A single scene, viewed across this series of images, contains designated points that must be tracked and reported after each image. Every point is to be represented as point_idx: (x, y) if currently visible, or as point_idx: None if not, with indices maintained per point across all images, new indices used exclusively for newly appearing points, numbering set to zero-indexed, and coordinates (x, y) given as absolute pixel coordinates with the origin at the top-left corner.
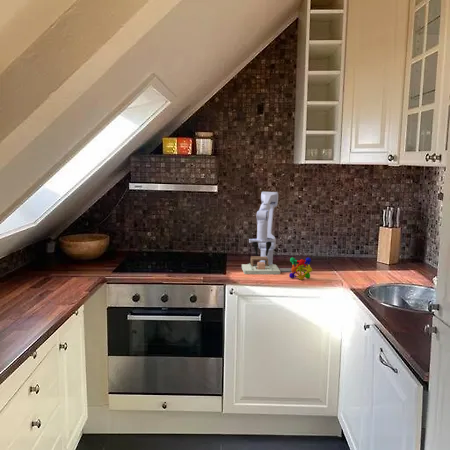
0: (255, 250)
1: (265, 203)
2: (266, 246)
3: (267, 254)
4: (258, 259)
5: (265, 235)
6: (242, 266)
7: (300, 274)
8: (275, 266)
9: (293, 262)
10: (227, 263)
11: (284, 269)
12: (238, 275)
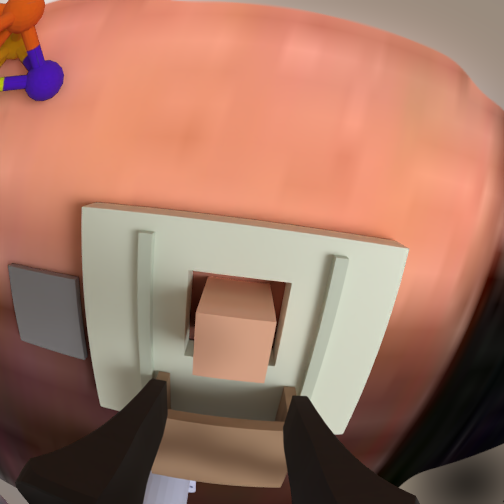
0: (341, 443)
1: None
2: (133, 501)
3: (144, 386)
4: (240, 424)
5: None
6: (358, 394)
7: (4, 47)
8: (102, 359)
9: None
10: None
11: (53, 321)
12: (444, 208)
